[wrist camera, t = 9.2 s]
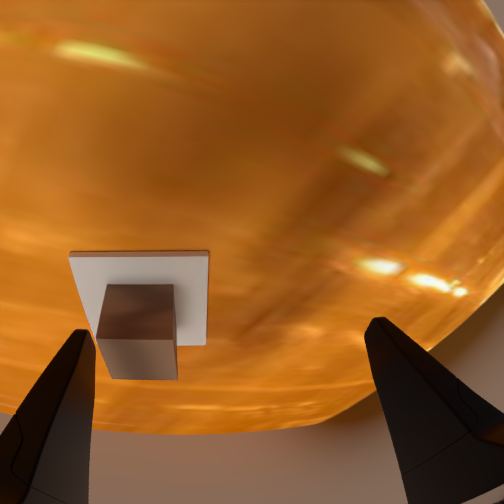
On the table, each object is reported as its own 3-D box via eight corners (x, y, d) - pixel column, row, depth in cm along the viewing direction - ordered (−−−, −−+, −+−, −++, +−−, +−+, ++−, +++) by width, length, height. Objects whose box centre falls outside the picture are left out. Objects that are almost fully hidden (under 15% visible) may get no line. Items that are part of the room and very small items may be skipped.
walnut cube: (173, 284, 23) (172, 339, 19) (176, 328, 26) (177, 379, 22) (106, 284, 22) (95, 338, 18) (118, 327, 25) (112, 378, 21)
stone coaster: (208, 250, 22) (208, 256, 22) (205, 339, 28) (205, 344, 28) (70, 252, 20) (68, 257, 20) (98, 339, 26) (97, 344, 26)
